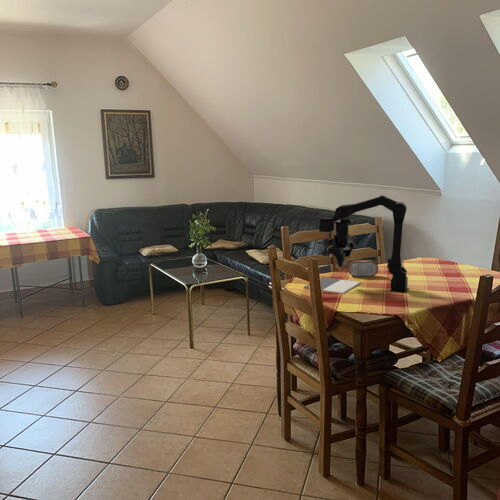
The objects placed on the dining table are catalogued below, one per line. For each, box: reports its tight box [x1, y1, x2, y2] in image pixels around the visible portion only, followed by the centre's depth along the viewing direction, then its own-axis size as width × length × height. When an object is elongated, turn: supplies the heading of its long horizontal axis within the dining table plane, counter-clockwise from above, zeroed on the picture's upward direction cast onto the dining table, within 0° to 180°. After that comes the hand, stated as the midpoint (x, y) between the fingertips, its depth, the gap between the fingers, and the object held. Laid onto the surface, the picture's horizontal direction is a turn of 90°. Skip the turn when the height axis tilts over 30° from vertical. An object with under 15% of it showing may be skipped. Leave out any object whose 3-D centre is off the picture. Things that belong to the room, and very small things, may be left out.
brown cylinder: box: [335, 256, 350, 270], centre depth 233 cm, size 4×4×5 cm
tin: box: [347, 259, 379, 278], centre depth 252 cm, size 15×3×8 cm, turn 84°
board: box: [303, 277, 361, 295], centre depth 238 cm, size 20×20×1 cm
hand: (342, 265), depth 233 cm, fingers closed on brown cylinder, 4 cm apart
